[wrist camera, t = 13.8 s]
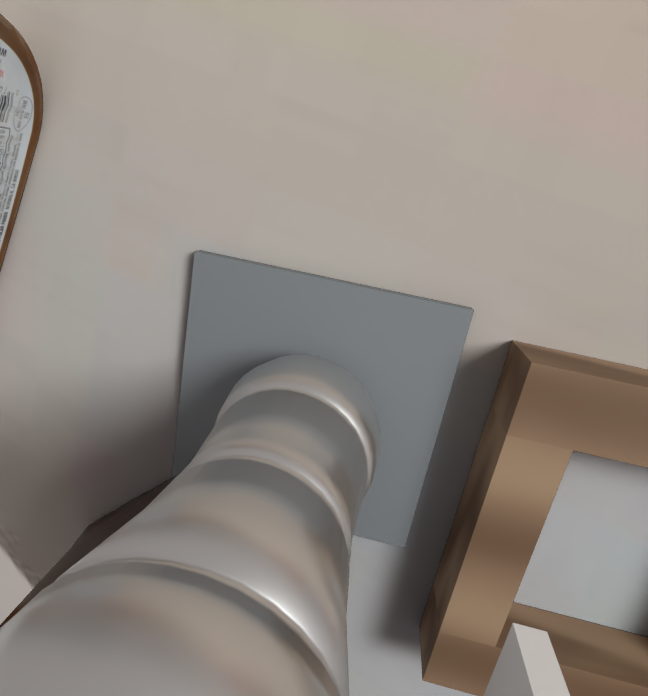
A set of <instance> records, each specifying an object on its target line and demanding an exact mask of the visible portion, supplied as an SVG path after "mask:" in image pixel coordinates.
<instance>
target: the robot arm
mask: <svg viewBox="0 0 648 696" xmlns="http://www.w3.org/2000/svg"><path fill="white" fill-rule="evenodd" d="M484 696H570V694H569V691H568V688H567V685H566V683H565V680H564V677H563V674H562V672H561V669H560V666H559V663H558V661H557V658H556V655H555V652H554V649H553V647H552V644H551V641H550V638H549V636H548V633H547V632H546V631H543V630H539V629H535V628H531V627H527V626H524V625H520V624H516V623H512V626H511V628H510V631H509V633H508V636H507V638H506V641H505V643H504V646H503V648H502V651H501V654H500V656H499V659H498V661H497V664H496V666H495V669H494V671H493V674H492V676H491V679H490V681H489V684H488V686H487V689H486V691H485V694H484Z"/></svg>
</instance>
